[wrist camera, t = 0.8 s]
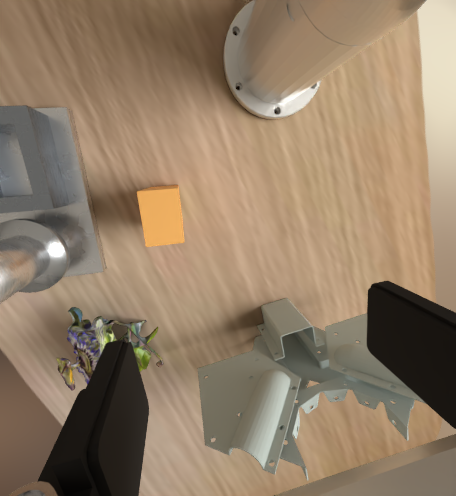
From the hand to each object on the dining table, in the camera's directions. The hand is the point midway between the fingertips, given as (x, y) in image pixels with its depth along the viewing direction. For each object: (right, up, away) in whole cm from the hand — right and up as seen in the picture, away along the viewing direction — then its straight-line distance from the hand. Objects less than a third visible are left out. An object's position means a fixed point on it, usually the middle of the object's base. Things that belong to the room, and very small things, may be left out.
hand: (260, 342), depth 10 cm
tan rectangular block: (-9, +9, +24) cm, 27 cm away
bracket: (+7, -8, +32) cm, 34 cm away
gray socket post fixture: (-24, +9, +21) cm, 33 cm away
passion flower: (-17, -8, +27) cm, 33 cm away
